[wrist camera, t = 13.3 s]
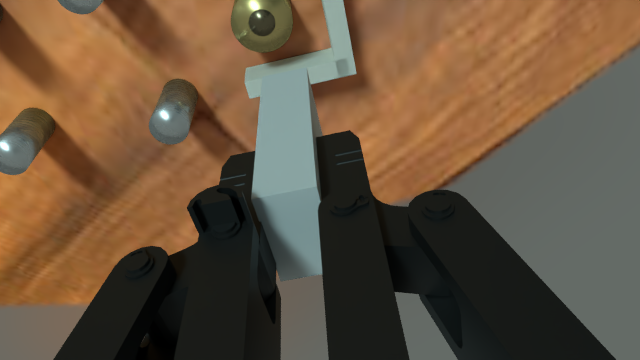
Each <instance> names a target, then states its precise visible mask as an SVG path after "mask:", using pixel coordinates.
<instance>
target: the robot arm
mask: <svg viewBox="0 0 640 360" xmlns="http://www.w3.org/2000/svg"><path fill="white" fill-rule="evenodd" d="M220 180H221V181H220V182H219V185H217V186H213V187H210V188H207V189H205V190H204V191H202V192H200V193H198V194H197V195H196V196H195V197H194V198H193V199H192V200H191V201H190V203H189V205H188V207H187V209H188V211H189V214H190V216H191V218H192V220H193V222H194V224H195V227H196V229H197V231H198V233H199V238H198V242H197V243H195V244H194V245H192V246H190V247H188V248H186V249H184V250H181V251H179V252H177V253H174V254H172V255H170V256H168V254H167V252H166V251H165V250H163V249H162V248H161V247H155V246H149V247H143V248H140V249H137V250H135V251H133V252H131V253H129V254H128V255H126V256H125V257H123V258H122V259H121V260H120V261H119V262H118V263H117V265H116V266H115V267H114V268H113V270H112V271H111V273H110V274H109V276H108V277H107V279H106V280H105V282H104V283H103V285H102V286H101V288H100V290H99V291H98V293H97V294H96V296H95V297H94V299H93V300H92V302H91V303H90V305H89V306H88V308H87V309H86V311H85V312H84V314H83V315H82V317H81V319H80V320H79V322H78V323H77V325H76V326H75V328H74V329H73V331H72V332H71V334H70V335H69V337H68V338H67V340H66V341H65V343H64V344H63V346H62V347H61V349H60V351H59V352H58V353H57V355H56V357H55V358H54V360H280V353H281V352H280V351H281V347H280V346H281V345H280V344H281V297H280V293H279V290H278V287H277V284H276V270H277V272H278V275H279V278H280V281H286V280H292V279H297V278H302V277H308V276H314V275H319V274H322V276H323V289H324V302H325V315H326V328H327V342H328V355H329V360H409V355H408V351H407V346H406V342H405V337H404V333H403V328H402V324H401V320H400V315H399V311H398V306H397V302H396V297H395V293H394V292H403V293H414V294H419V296H420V299H421V301H422V303H423V304H424V306H425V307H426V309H427V311H428V312H429V314H430V315H431V317H432V319H433V320H434V322H435V323H436V325H437V326H438V328H439V330H440V331H441V333H442V335H443V336H444V338H445V339H446V341H447V343H448V344H449V346H450V348H451V349H452V351H453V352H454V354H455V355H456V357H457V359H458V360H616V359H615V358H614V357H613V356H612V355H611V354H610V353H609V352H608V350H607V349H606V348H605V347H604V346H603V345H602V344H601V343H600V342H599V341H598V340H597V339H596V338H595V337H594V335H592V333H591V332H590V331H589V330H588V329H587V328H586V327H585V326H584V325H583V324H582V323H581V322H580V320H579V319H577V317H576V316H575V315H574V314H573V313H572V312H571V311H570V310H569V309H568V308H567V307H566V305H565V304H564V303H563V302H562V301H561V300H560V299H559V298H558V297H557V296H556V295H555V294H554V293H553V292H552V291H551V290H550V288H549V287H548V286H547V285H546V284H545V283H544V282H543V281H542V280H541V279H540V278H539V277H538V275H536V274H535V272H534V271H533V270H532V269H531V268H530V267H529V266H528V265H527V264H526V263H525V262H524V261H523V259H521V257H520V256H519V255H518V254H517V253H516V252H515V251H514V250H513V249H512V248H511V247H510V245H509V244H507V242H506V241H505V240H504V239H503V238H502V237H501V236H500V235H499V234H498V233H497V232H496V231H495V229H494V228H493V227H492V226H491V225H490V224H489V223H488V222H487V221H486V220H485V219H484V218H483V217H482V216H481V214H480V213H479V212H478V211H477V210H476V209H475V208H474V207H473V206H472V205H471V204H470V203H469V202H468V201H467V199H466V198H464V197H463V196H461V195H460V194H458V193H456V192H452V191H449V190H432V191H428V192H424V193H422V194H420V195H418V196H416V197H415V198H414V199H413V200H412V201H411V202H410V203H409V206H408V207H401V206H391V205H388V204H385V203H382V202H380V201H379V200H377V199H376V198H375V197H374V196H373V194H372V192H371V189H370V185H369V180H368V176H367V172H366V167H365V163H364V158H363V154H362V150H361V145H360V141H359V138H358V137H357V136H356V135H354V134H353V133H352V132H351V131H350V130H349V131H344V132H340V133H335V134H330V135H325V136H323V135H322V131H321V126H320V122H319V118H318V114H317V109H316V105H315V101H314V96H313V92H312V88H311V83H310V79H309V75H308V71H307V67H306V68H301V69H296V70H292V71H287V72H282V73H278V74H273V75H268V76H264V77H262V85H261V96H260V107H259V118H258V129H257V140H256V151H252V152H247V153H242V154H237V155H233V156H230V158H229V159H228V160H227V162H226V163H225V164H224V166H223V167H222V171H221V177H220ZM145 335H146V336H145ZM144 337H145V338H144Z"/></svg>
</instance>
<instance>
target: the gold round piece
mask: <svg viewBox="0 0 640 360" xmlns="http://www.w3.org/2000/svg"><path fill="white" fill-rule="evenodd" d="M231 26H232V30H233V33H234V35H235V37H236V38H237V40H238V41H239V42H240V43H241V44H242V45H243V46H245V47H246V48H248V49H250V50H252V51H255V52H262V53H263V52H271V51H274V50H276V49H278V48H280V47H281V46H282V45H284V44H285V42H286V41H287V40H288V38H289V37H290V35H291V32H292V27H293V18H292V9H291V3H290V0H235V1H234V6H233V10H232V15H231Z"/></svg>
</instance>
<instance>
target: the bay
mask: <svg viewBox="0 0 640 360" xmlns="http://www.w3.org/2000/svg"><path fill="white" fill-rule="evenodd" d="M322 5H323V10H324V15H325V20H326V24H327V29H328V34H329V39H330V44H331V48H329V49H324V50H320V51H316V52H312V53H308V54H303V55H299V56H295V57H291V58H286V59H282V60H278V61H274V62H269V63H265V64H261V65H257V66H253V67H248V68H246V73H245V85H246V88H247V91H248V94H249V98H255V97H259V96H261V85H262V77H264V76H268V75H273V74H278V73H282V72H287V71H292V70H296V69H301V68H306V67H307V71H308V75H309V79H310V83H311V84H315V83H319V82H323V81H328V80H332V79H336V78H341V77H345V76H349V75H353V74H356V68H355V63H354V57H353V52H352V46H351V41H350V35H349V30H348V25H347V19H346V14H345V8H344V3H343V0H322Z"/></svg>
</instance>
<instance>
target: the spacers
mask: <svg viewBox="0 0 640 360" xmlns="http://www.w3.org/2000/svg"><path fill="white" fill-rule="evenodd" d="M58 1H59V3H60V4H61V5H62V6H63V7H64V8H66V9H67V10H69V11H71V12H73V13H77V14H88V13H91V12H93V11H94V10H95V9H96V8H97V7H98V6H99V5H100V4H101V3H102V2H103V1H104V0H58ZM2 17H3V12H2V8H1V6H0V22H1V20H2ZM197 99H198V94H197V91H196V89H195V87H194V86H193V85H192V84H191V83H190V82H188V81H186V80H183V79H173V80H171V81H169V82H167V83H166V85H165V86H164V88H163V90H162V93H161V95H160V98H159V100H158V102H157V105H156V107H155V109H154V112H153V114H152V117H151V119H150V122H149V129H150V132H151V134H152V135H153V136H154V137H155V138H156V139H157V140H158V141H160V142H162V143H165V144H177V143H180V142H182V141H183V140H184V139H185V138H186V137H187V135H188V132H189V128H190V125H191V121H192V117H193V114H194V110H195V106H196V103H197ZM54 130H55V123H54V120H53V119H52V117H51V116H50V115H49V114H48V113H47V112H45V111H43V110H41V109H38V108H27V109H24V110H23V111H22V112H21V113H20V114H19V115H18V116H17V117H16V118H15V119H14V120H13V122H12V123H11V124H10V125H9V126H8V127H7V128H6V129H5V131H4V132H3V133H2V134H1V135H0V172H2V173H5V174H9V175H17V174H21V173H23V172H24V171H26V169H27V168H28V167H29V165H30V164H31V163H32V161H33V160H34V158H35V157H36V156H37V154H38V153H39V152H40V150H41V149H42V147H43V146H44V145H45V143H46V142H47V141H48V139H49V138H50V136H51V135H52V134H53V132H54Z"/></svg>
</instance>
